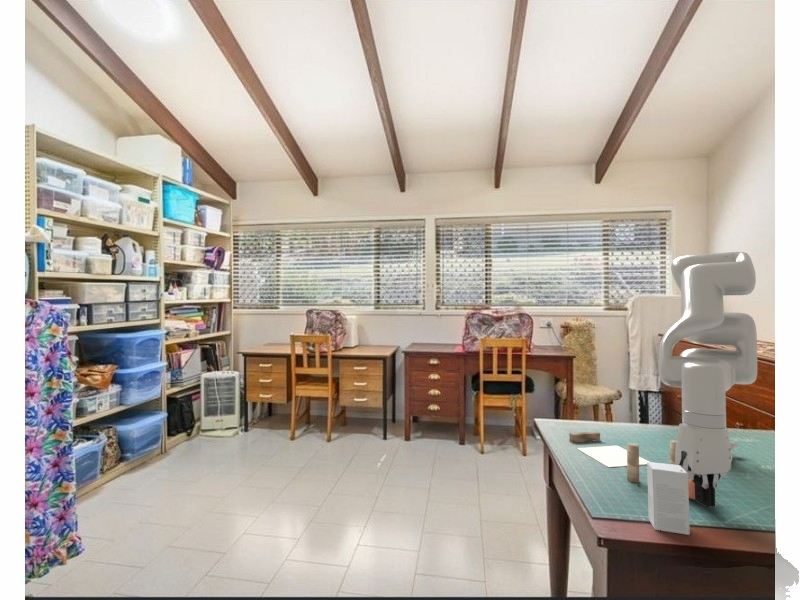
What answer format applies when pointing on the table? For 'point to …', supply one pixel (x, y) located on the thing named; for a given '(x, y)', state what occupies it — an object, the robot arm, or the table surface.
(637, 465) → the post
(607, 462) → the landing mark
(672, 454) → the post
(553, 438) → the table surface
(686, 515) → the skincare box
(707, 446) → the robot arm
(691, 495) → the ball
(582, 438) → the wall
